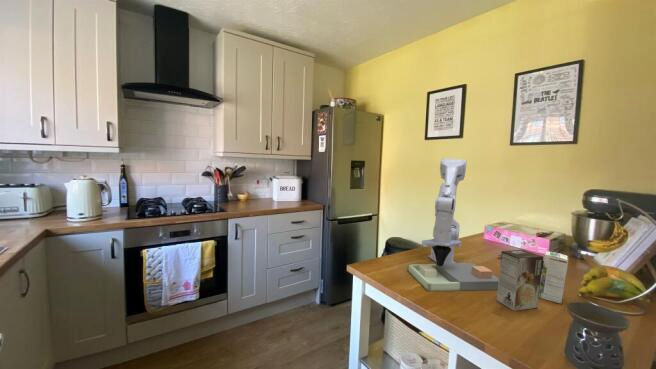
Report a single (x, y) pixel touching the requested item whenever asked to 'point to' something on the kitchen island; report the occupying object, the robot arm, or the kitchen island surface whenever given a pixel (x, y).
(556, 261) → the syrup box
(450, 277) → the slate board
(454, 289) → the tray
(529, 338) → the kitchen island surface
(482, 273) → the peach square block
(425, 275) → the tile
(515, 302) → the coffee box
